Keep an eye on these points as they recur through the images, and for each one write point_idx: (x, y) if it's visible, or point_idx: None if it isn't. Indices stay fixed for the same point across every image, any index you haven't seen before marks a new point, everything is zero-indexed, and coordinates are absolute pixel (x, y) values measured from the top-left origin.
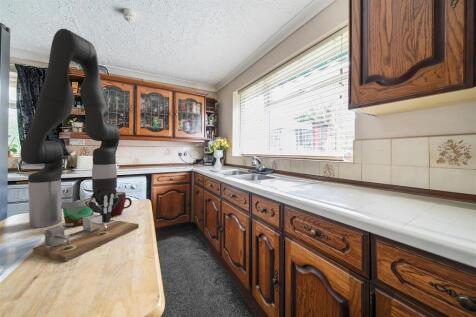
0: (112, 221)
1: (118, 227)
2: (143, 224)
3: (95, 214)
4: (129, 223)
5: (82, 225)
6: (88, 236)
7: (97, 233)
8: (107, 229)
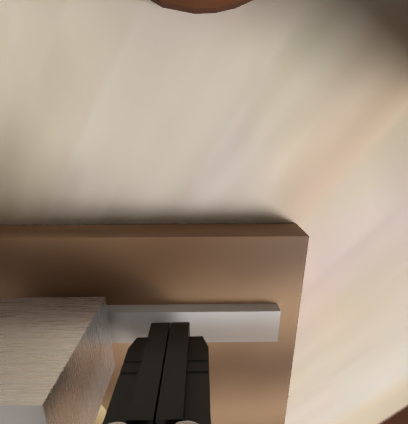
0: (246, 317)
1: None
2: (328, 421)
3: (42, 418)
4: (270, 417)
5: (162, 4)
6: None
7: None
8: None
